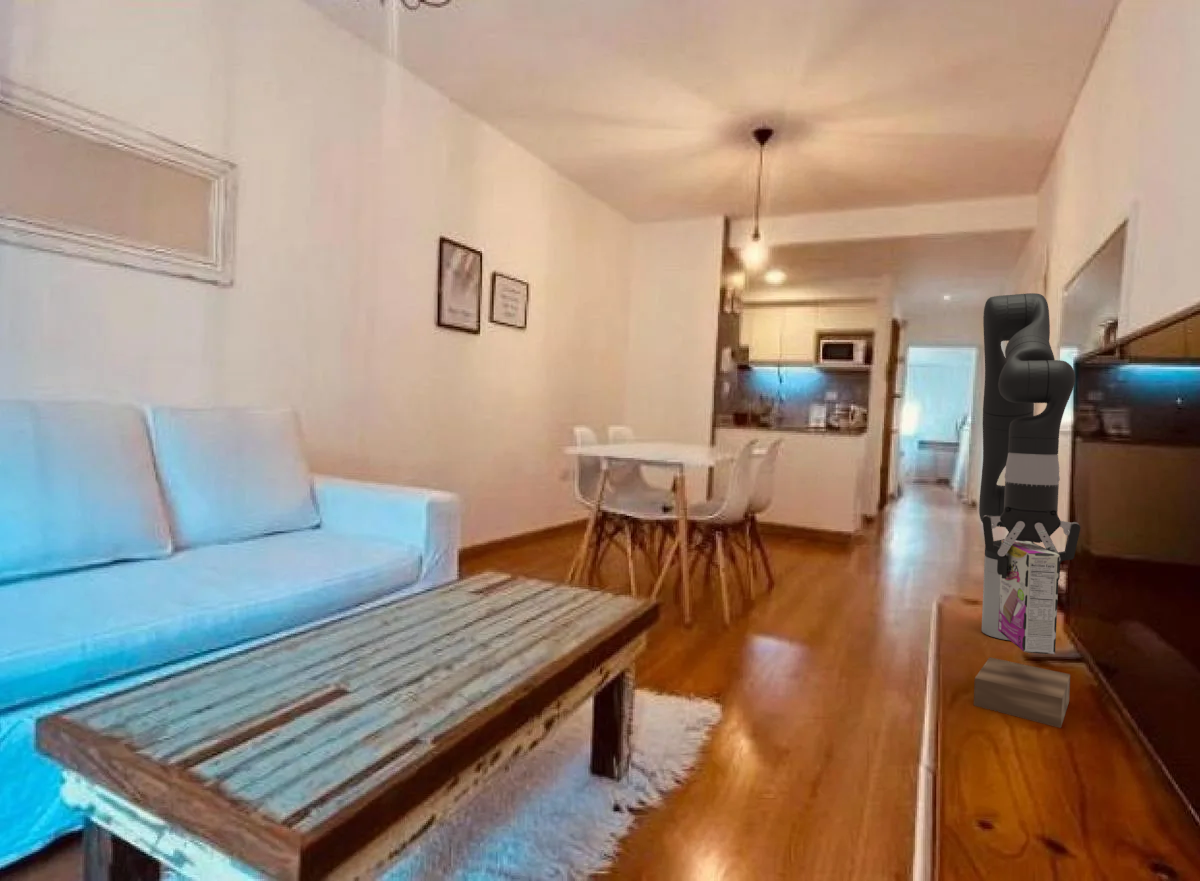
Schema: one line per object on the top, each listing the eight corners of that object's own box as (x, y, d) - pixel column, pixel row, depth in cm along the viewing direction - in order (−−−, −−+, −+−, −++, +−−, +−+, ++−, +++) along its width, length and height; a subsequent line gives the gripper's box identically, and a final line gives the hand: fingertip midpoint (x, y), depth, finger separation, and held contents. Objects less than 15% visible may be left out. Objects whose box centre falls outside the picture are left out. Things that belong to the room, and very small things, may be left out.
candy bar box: (995, 631, 118) (999, 539, 117) (1026, 633, 117) (1031, 540, 116) (1021, 653, 107) (1027, 551, 106) (1056, 656, 106) (1062, 553, 105)
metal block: (988, 684, 121) (989, 657, 121) (1069, 703, 113) (1070, 674, 113) (973, 707, 111) (974, 678, 111) (1060, 730, 103) (1062, 698, 103)
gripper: (1082, 482, 110) (1078, 582, 111) (982, 476, 118) (978, 570, 119) (1086, 485, 104) (1081, 592, 105) (980, 479, 112) (976, 578, 112)
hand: (1027, 580), depth 112 cm, fingers closed on candy bar box, 6 cm apart
